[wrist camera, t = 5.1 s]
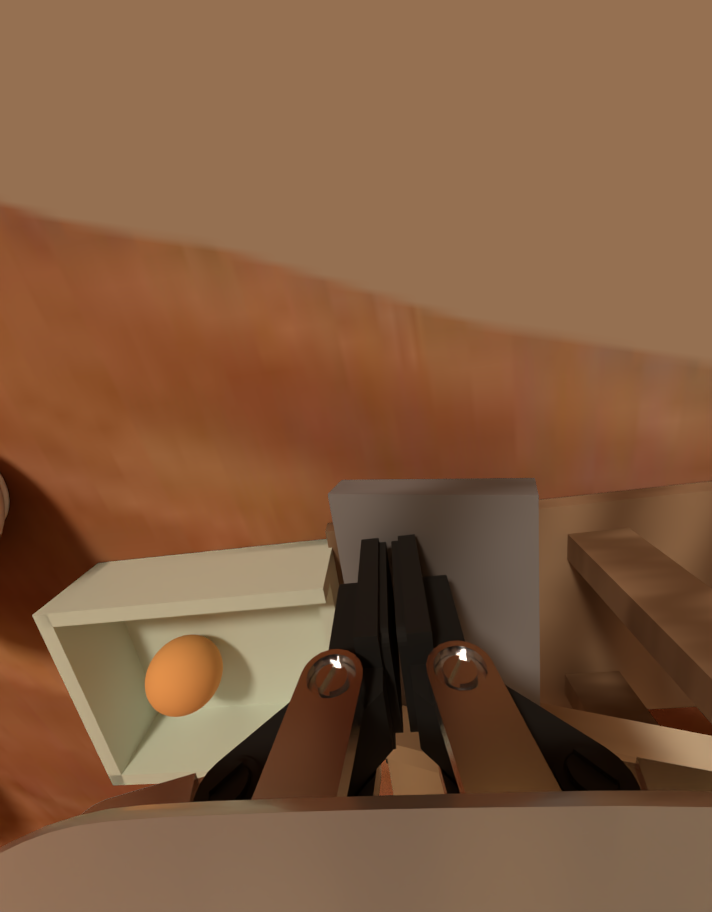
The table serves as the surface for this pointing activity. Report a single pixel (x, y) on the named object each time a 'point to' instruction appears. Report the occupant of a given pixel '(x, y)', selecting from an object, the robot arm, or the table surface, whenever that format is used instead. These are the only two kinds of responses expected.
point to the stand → (624, 600)
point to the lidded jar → (3, 502)
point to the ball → (183, 675)
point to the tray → (188, 613)
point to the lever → (483, 600)
